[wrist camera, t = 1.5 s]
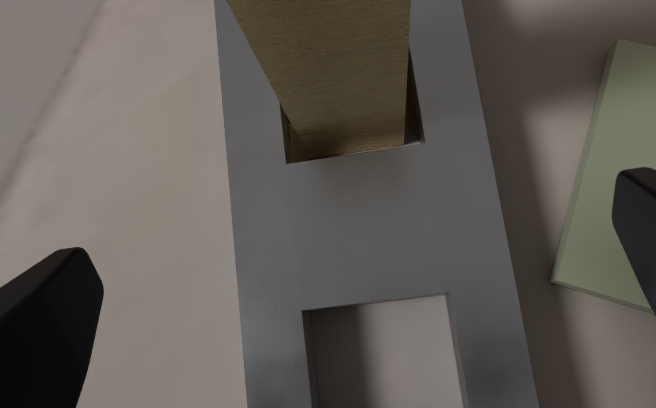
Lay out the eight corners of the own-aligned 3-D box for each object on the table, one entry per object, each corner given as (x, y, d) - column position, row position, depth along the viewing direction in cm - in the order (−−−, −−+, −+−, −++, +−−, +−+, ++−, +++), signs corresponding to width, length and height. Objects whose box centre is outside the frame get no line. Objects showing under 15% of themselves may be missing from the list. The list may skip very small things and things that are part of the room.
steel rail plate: (545, 502, 20) (561, 522, 18) (271, 527, 21) (259, 548, 19) (448, -16, 25) (452, -45, 23) (227, 22, 26) (213, -3, 24)
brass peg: (403, 145, 23) (414, -64, 11) (309, 159, 24) (211, -27, 11) (390, 57, 24) (384, -231, 12) (299, 72, 25) (198, -192, 12)
